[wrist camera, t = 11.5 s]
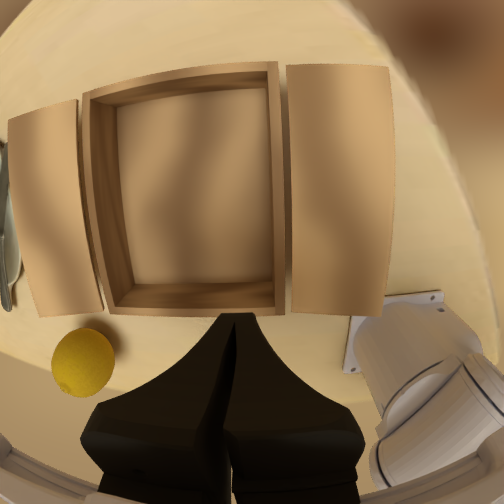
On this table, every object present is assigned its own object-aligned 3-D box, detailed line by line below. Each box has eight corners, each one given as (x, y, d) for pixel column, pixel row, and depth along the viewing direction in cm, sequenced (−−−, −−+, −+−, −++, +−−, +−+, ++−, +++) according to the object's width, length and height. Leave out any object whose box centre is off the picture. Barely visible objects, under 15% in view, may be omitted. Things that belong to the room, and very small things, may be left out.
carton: (273, 82, 17) (278, 61, 13) (279, 285, 22) (284, 315, 17) (113, 103, 17) (82, 93, 13) (133, 287, 22) (109, 313, 18)
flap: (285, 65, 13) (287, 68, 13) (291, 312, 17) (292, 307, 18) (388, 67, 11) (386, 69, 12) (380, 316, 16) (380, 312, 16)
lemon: (98, 362, 25) (65, 413, 17) (70, 319, 23) (27, 365, 16) (136, 355, 24) (105, 414, 17) (107, 307, 23) (62, 359, 15)
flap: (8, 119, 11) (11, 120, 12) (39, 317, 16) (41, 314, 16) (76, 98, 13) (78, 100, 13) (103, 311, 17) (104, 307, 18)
